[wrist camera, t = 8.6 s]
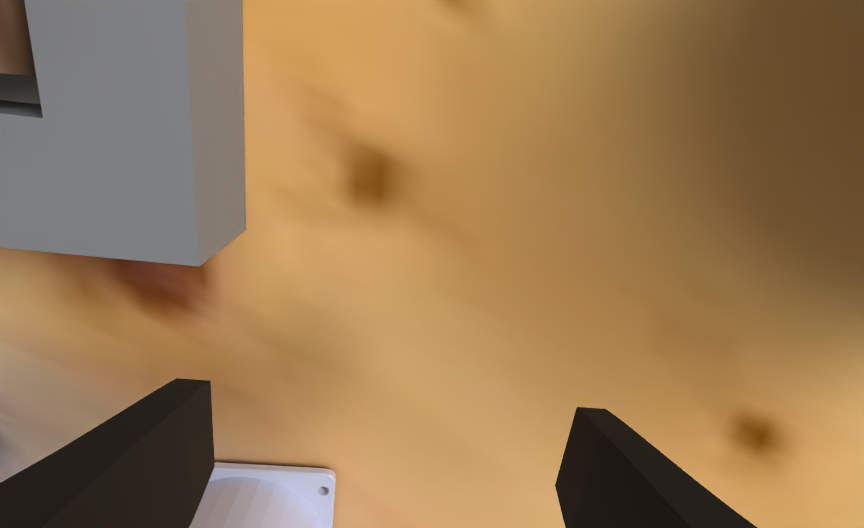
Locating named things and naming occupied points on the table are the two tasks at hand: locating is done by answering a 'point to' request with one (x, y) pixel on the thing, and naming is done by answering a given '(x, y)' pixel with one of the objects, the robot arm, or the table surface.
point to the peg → (15, 39)
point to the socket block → (126, 131)
